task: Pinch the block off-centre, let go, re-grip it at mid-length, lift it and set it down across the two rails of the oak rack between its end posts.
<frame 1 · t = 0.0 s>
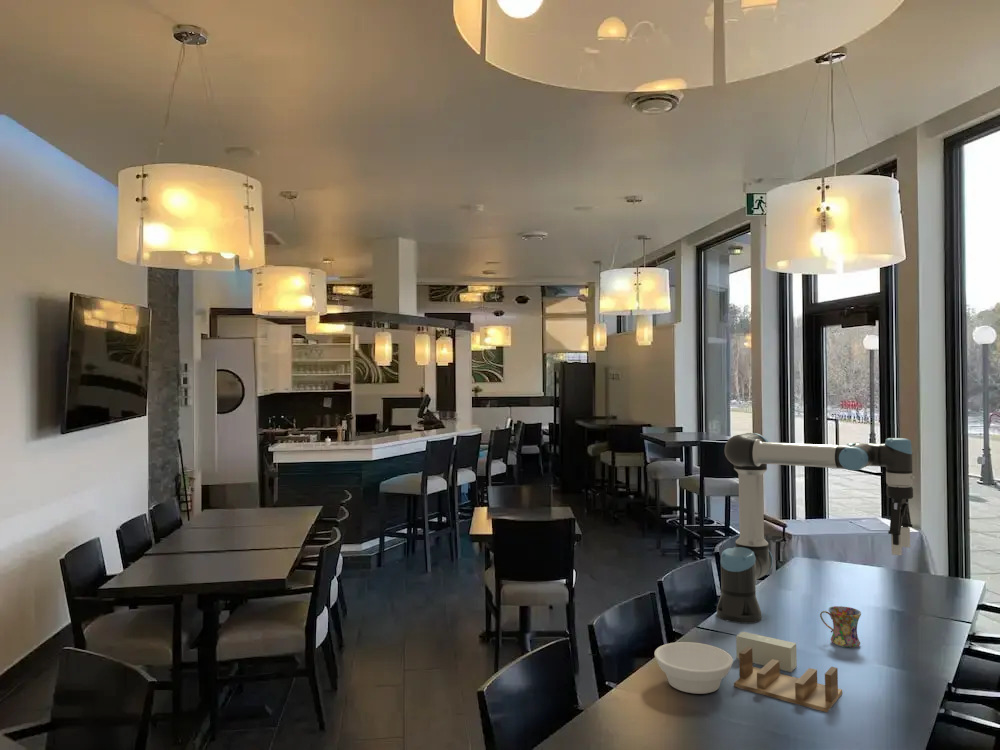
hand: (901, 550, 224), 28 cm above the table, fingers open, 13 cm apart
rack: (787, 689, 186), on the table
block: (766, 663, 205), on the table
mug: (840, 644, 219), on the table
bowl: (693, 686, 190), on the table
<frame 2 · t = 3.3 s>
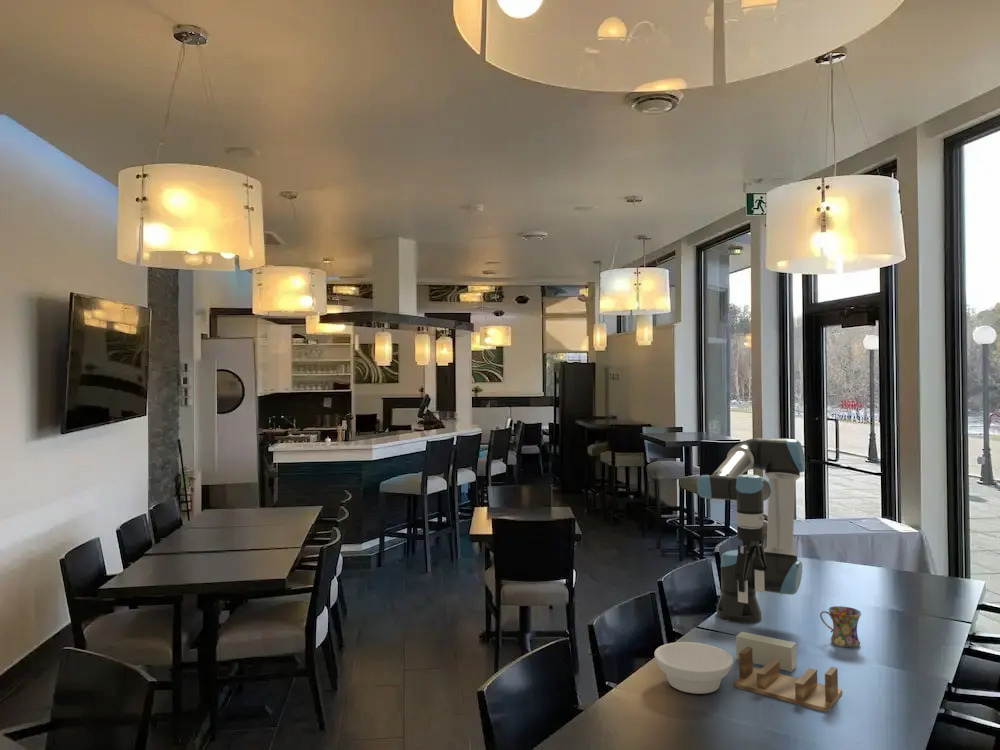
hand: (751, 596, 208), 19 cm above the table, fingers open, 13 cm apart
nothing on the table moved.
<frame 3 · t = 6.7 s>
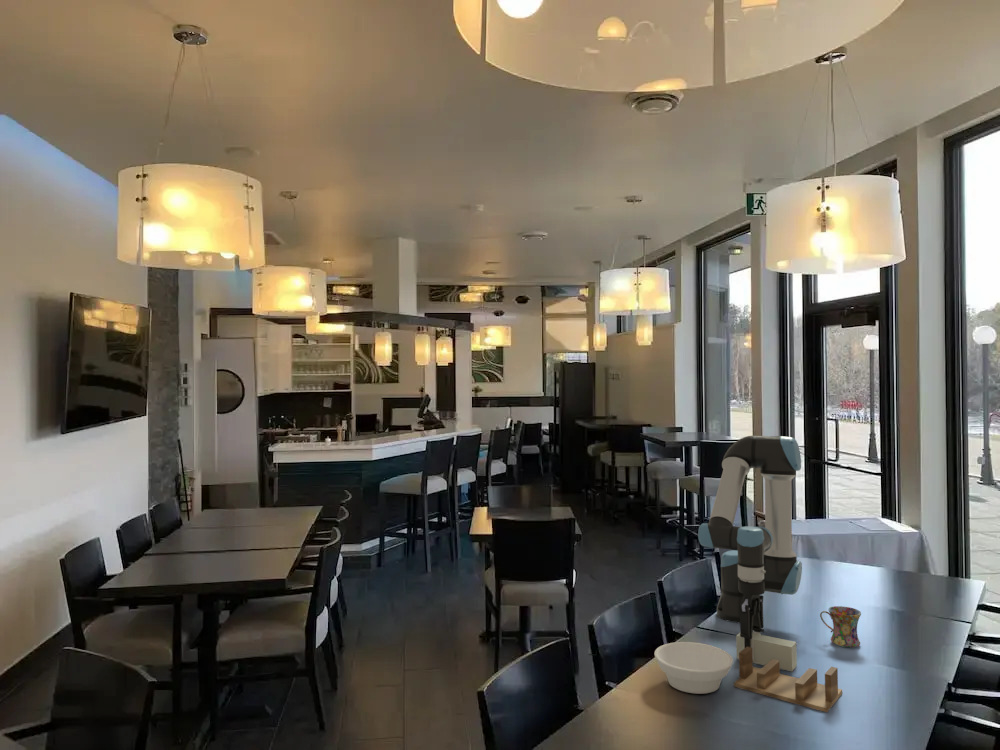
hand: (752, 656, 207), 1 cm above the table, fingers closed on block, 5 cm apart
block: (766, 662, 205), on the table, touching gripper
everything else where it was.
when the fingers open (1 cm above the table, at t = 7.3 s): block stays where it is, on the table.
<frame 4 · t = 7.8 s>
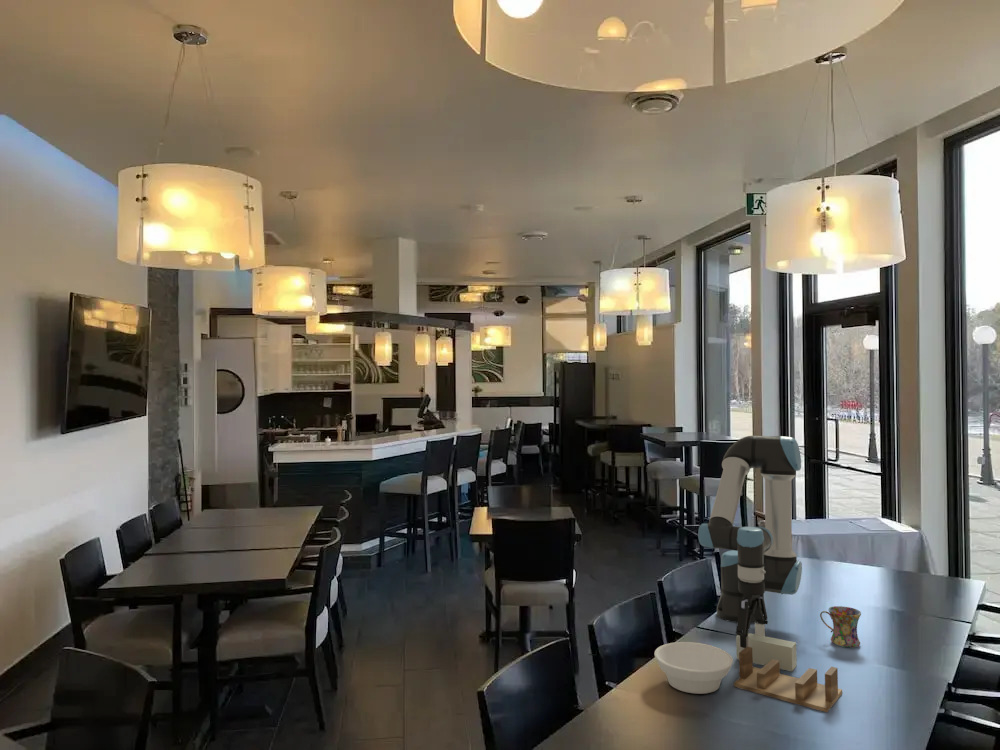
hand: (752, 651, 207), 2 cm above the table, fingers open, 12 cm apart
block: (766, 663, 205), on the table
everything else where it was.
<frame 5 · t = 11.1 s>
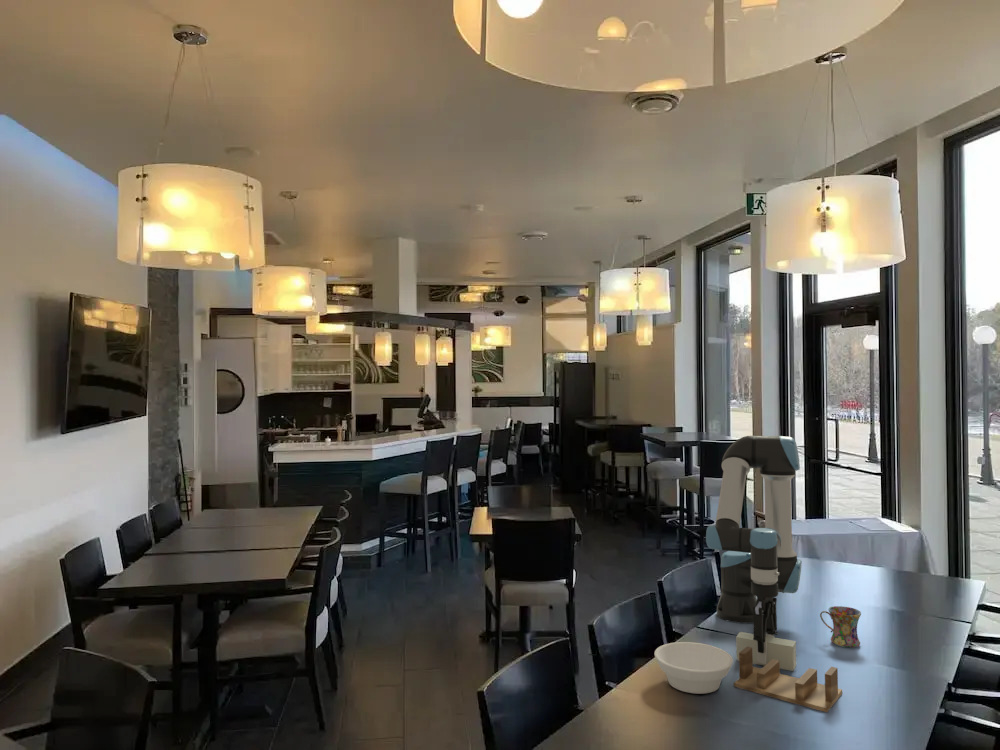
hand: (766, 659, 205), 1 cm above the table, fingers closed on block, 5 cm apart
block: (766, 662, 205), on the table, touching gripper
everything else where it was.
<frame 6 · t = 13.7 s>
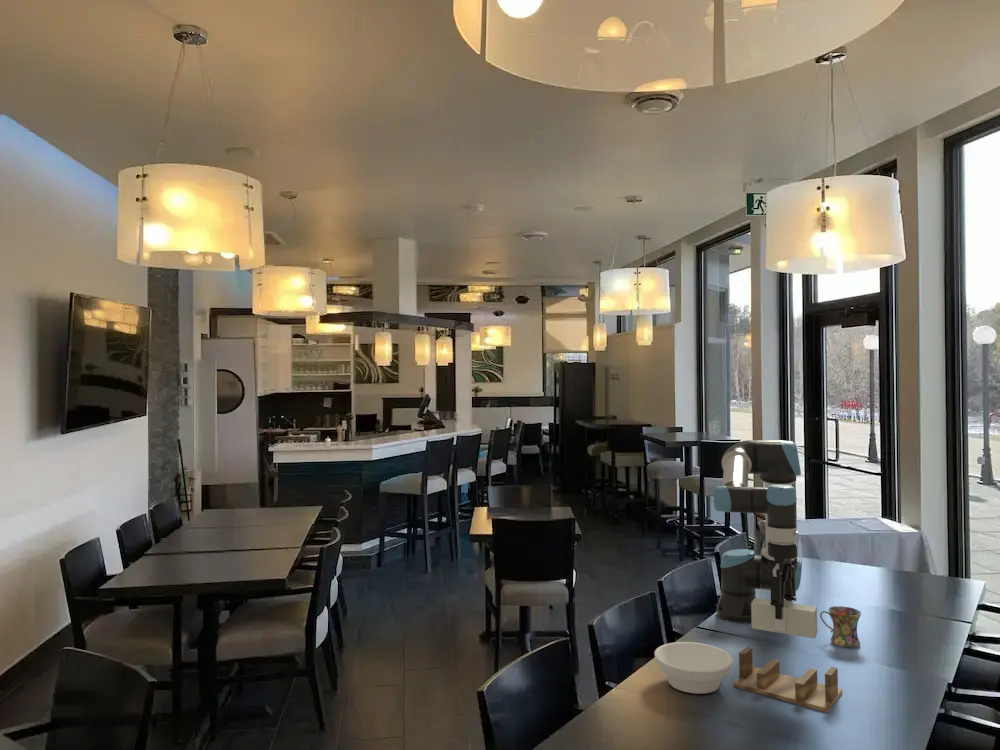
hand: (784, 627, 188), 17 cm above the table, fingers closed on block, 5 cm apart
block: (784, 630, 188), point 16 cm above the table, touching gripper
everything else where it was.
when the fingers open (7 cm above the table, at t = 16.2 s): block stays where it is, resting on rack.
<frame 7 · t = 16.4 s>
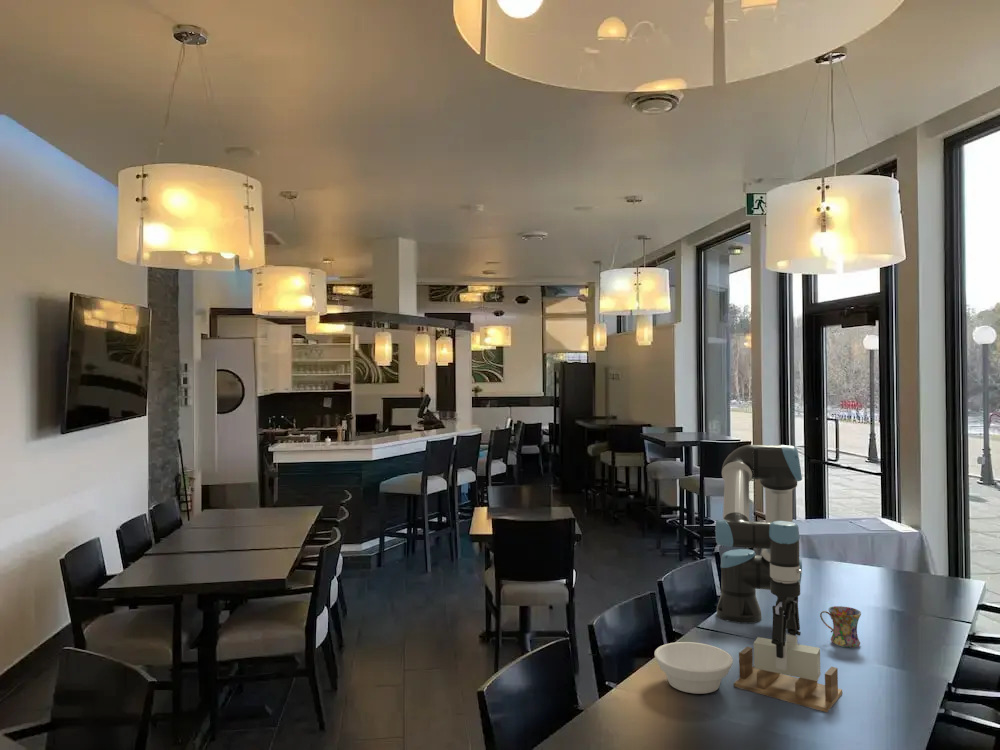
hand: (786, 663, 186), 7 cm above the table, fingers open, 8 cm apart
block: (786, 671, 186), point 5 cm above the table, touching rack
everything else where it was.
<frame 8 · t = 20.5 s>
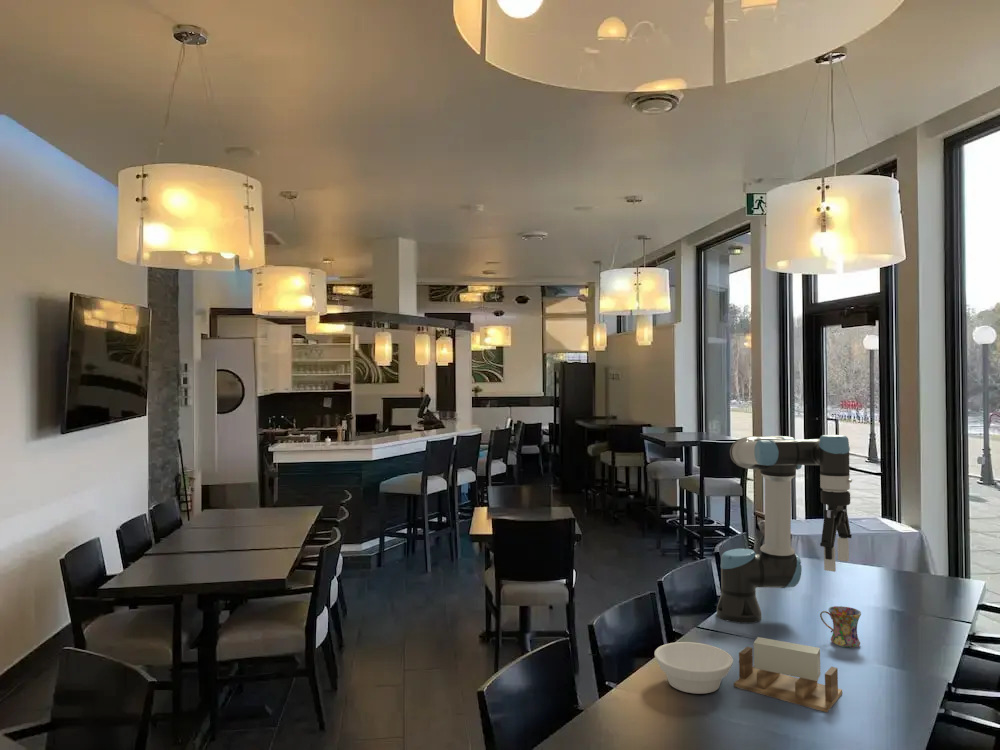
hand: (836, 565, 193), 32 cm above the table, fingers open, 13 cm apart
nothing on the table moved.
at the end: block inside the target area on the rack (0.0 cm from its centre), point 5.0 cm above the rack's base; block tilted 0°; the gripper is holding nothing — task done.
